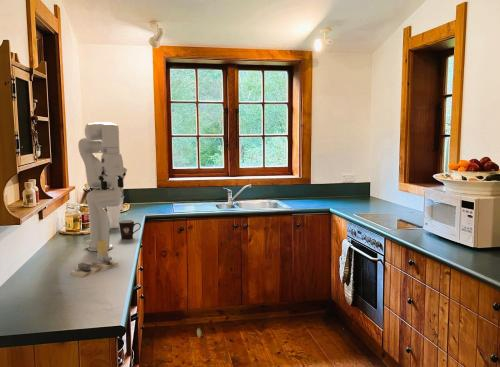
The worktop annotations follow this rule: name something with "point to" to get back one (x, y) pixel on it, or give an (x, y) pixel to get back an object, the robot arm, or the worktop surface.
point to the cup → (114, 215)
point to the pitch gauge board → (92, 268)
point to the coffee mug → (127, 228)
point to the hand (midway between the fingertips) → (112, 188)
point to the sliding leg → (102, 251)
